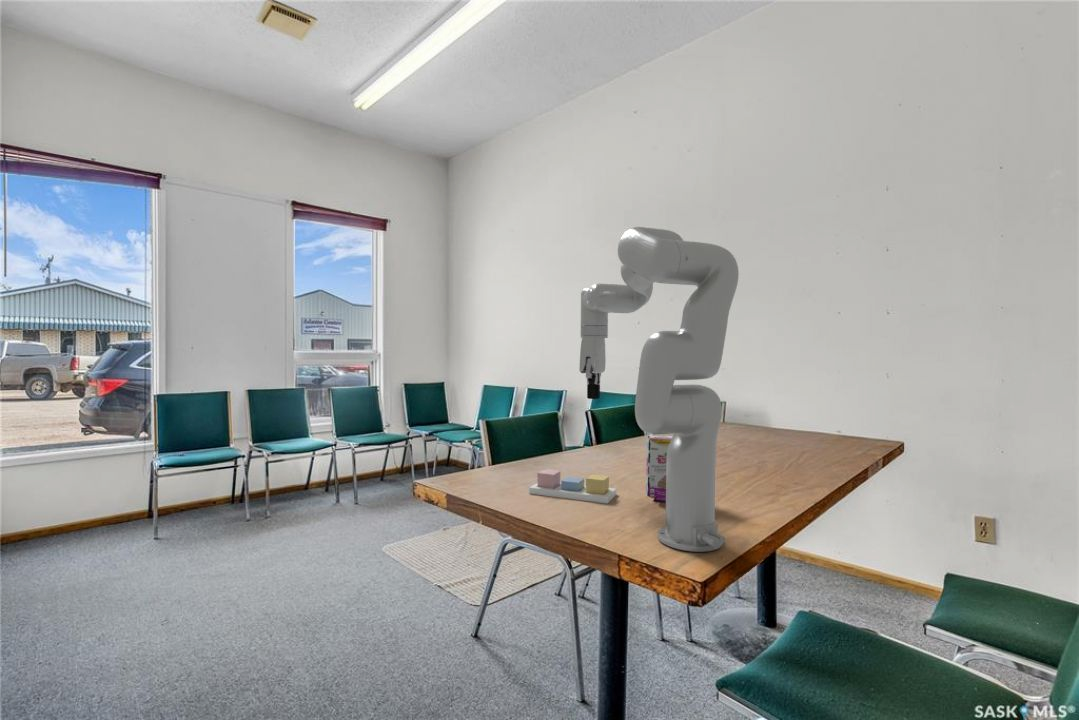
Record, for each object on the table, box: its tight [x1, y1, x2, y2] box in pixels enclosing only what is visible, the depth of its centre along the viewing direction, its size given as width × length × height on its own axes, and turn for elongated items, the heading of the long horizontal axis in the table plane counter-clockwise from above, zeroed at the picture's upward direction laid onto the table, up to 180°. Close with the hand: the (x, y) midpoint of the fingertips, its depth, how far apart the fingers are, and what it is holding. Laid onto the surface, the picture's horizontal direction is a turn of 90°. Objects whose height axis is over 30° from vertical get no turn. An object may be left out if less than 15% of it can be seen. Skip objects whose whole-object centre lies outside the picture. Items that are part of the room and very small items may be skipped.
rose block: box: [536, 469, 561, 489], centre depth 134 cm, size 5×5×5 cm
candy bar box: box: [645, 434, 673, 503], centre depth 131 cm, size 11×5×16 cm, turn 84°
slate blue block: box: [560, 476, 585, 492], centre depth 131 cm, size 5×5×5 cm
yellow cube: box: [585, 474, 610, 495], centre depth 129 cm, size 5×5×5 cm
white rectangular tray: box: [528, 481, 617, 504], centre depth 131 cm, size 21×8×3 cm, turn 67°
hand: (593, 398), depth 142 cm, fingers closed
